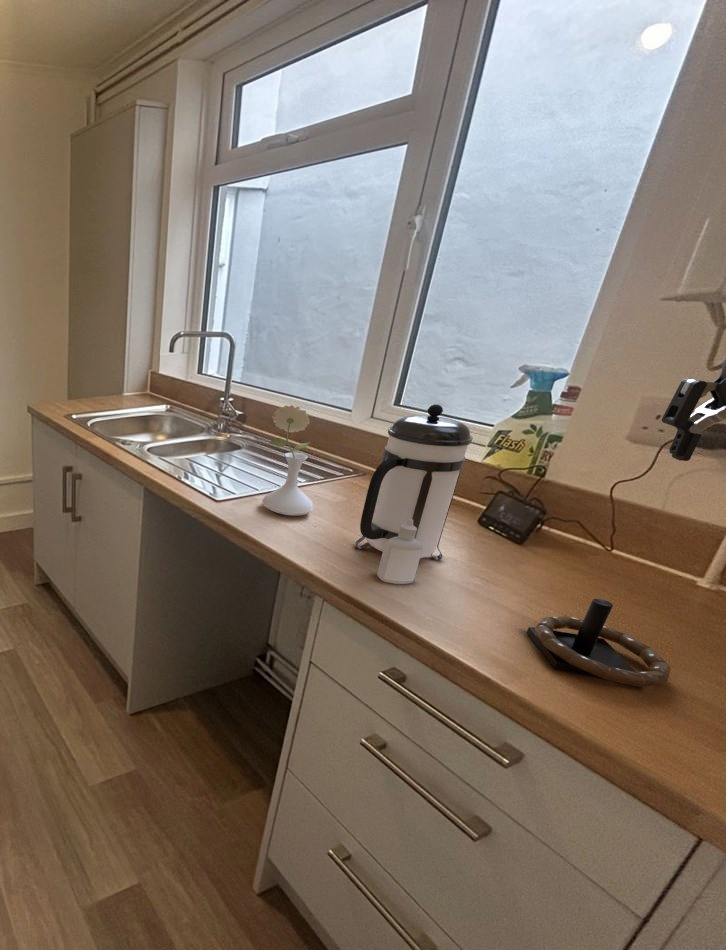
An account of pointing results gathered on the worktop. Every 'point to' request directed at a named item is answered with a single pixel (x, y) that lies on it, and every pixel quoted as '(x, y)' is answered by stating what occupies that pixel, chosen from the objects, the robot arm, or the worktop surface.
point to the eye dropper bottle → (401, 556)
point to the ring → (653, 677)
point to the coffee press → (415, 480)
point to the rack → (585, 641)
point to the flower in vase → (290, 465)
